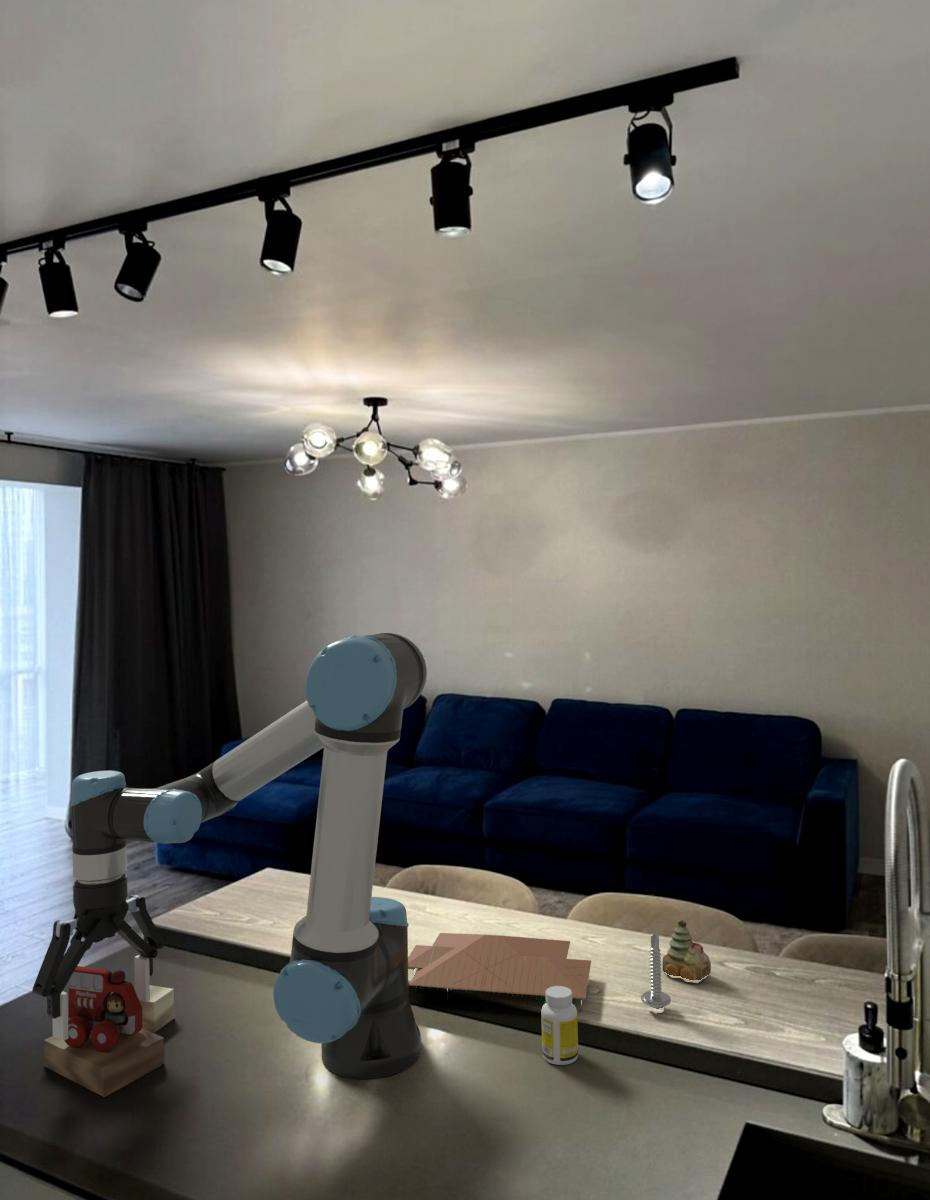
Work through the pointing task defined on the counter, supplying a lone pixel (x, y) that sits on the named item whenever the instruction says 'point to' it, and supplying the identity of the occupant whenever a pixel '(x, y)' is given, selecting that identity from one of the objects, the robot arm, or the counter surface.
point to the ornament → (686, 956)
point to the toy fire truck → (101, 1008)
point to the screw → (655, 978)
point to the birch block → (157, 1008)
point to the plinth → (105, 1061)
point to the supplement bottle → (559, 1027)
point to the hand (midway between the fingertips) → (103, 1017)
